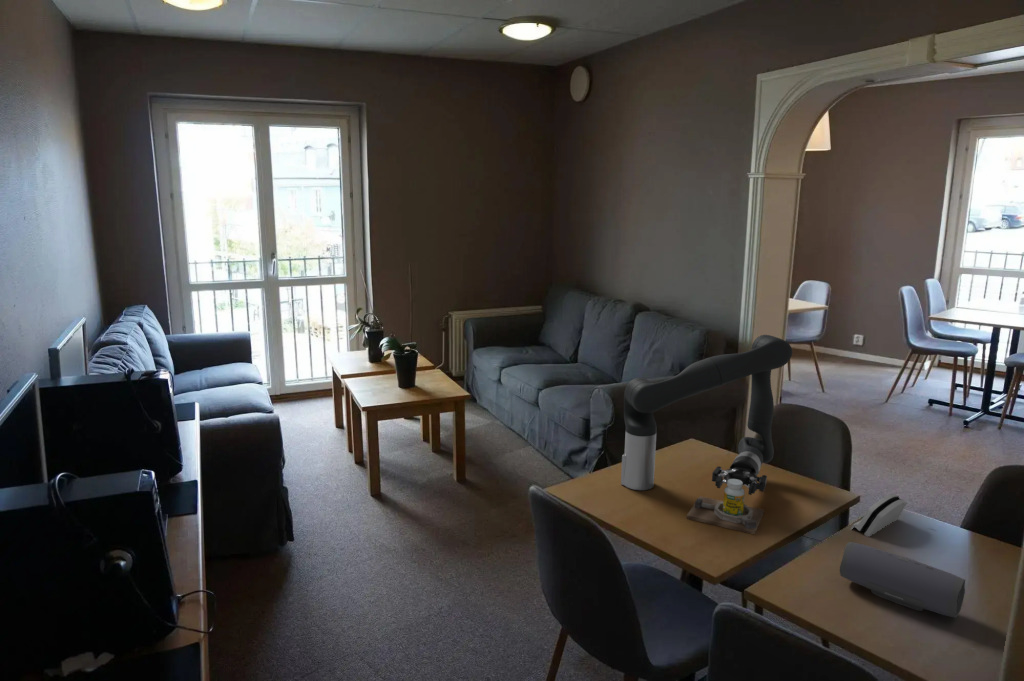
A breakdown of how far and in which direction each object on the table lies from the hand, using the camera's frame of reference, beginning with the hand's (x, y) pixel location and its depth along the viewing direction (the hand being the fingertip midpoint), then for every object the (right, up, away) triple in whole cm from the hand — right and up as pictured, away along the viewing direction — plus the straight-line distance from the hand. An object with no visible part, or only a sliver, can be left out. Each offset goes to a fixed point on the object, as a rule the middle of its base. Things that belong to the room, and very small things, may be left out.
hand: (734, 488), depth 185 cm
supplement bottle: (+1, -8, +4) cm, 9 cm away
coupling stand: (-1, -9, +5) cm, 10 cm away
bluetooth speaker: (+25, -18, -34) cm, 46 cm away
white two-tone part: (+39, -11, -1) cm, 40 cm away
